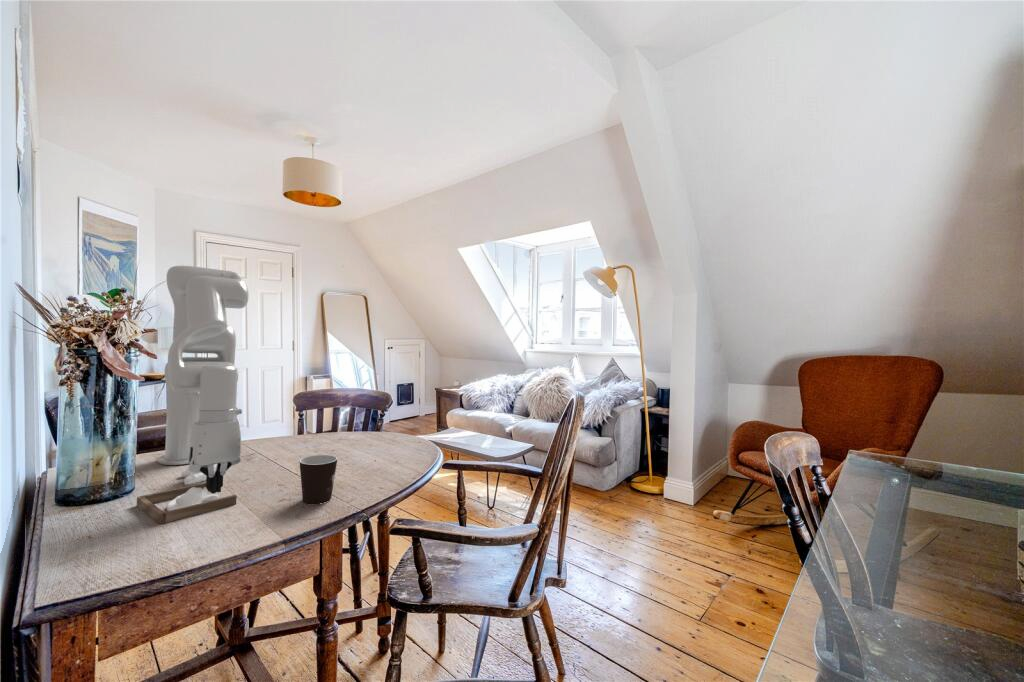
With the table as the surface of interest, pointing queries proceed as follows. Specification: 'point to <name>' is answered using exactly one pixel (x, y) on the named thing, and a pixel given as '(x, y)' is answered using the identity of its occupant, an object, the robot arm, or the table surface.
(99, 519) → the table surface
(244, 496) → the table surface
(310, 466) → the coffee mug
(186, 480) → the seated beast figurine
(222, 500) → the walnut bay
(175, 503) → the rose
